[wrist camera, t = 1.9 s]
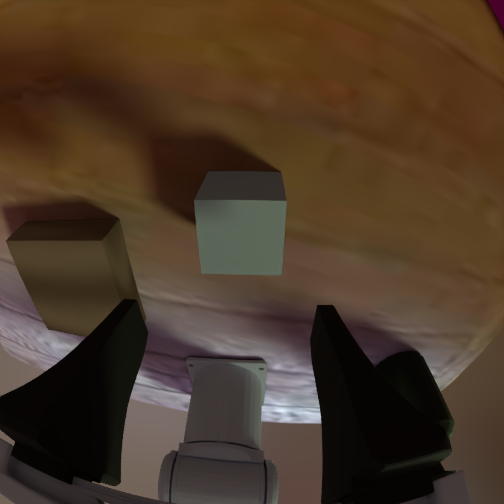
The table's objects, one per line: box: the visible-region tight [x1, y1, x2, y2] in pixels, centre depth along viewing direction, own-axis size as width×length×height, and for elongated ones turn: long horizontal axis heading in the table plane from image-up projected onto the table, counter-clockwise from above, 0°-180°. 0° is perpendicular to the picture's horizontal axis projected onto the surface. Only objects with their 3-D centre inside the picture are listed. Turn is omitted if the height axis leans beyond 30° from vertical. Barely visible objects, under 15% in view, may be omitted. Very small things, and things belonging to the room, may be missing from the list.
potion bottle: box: [376, 351, 456, 481], centre depth 22 cm, size 8×8×18 cm
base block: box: [6, 219, 146, 336], centre depth 22 cm, size 10×10×3 cm
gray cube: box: [194, 171, 287, 275], centre depth 18 cm, size 4×4×4 cm
